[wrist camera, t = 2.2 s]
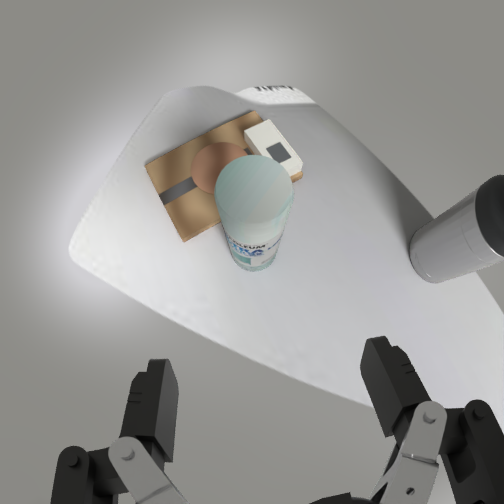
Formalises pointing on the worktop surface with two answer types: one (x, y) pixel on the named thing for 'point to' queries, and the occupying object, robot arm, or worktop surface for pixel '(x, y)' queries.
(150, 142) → the worktop surface
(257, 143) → the block
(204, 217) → the plywood panel
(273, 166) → the spray paint can
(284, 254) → the worktop surface
